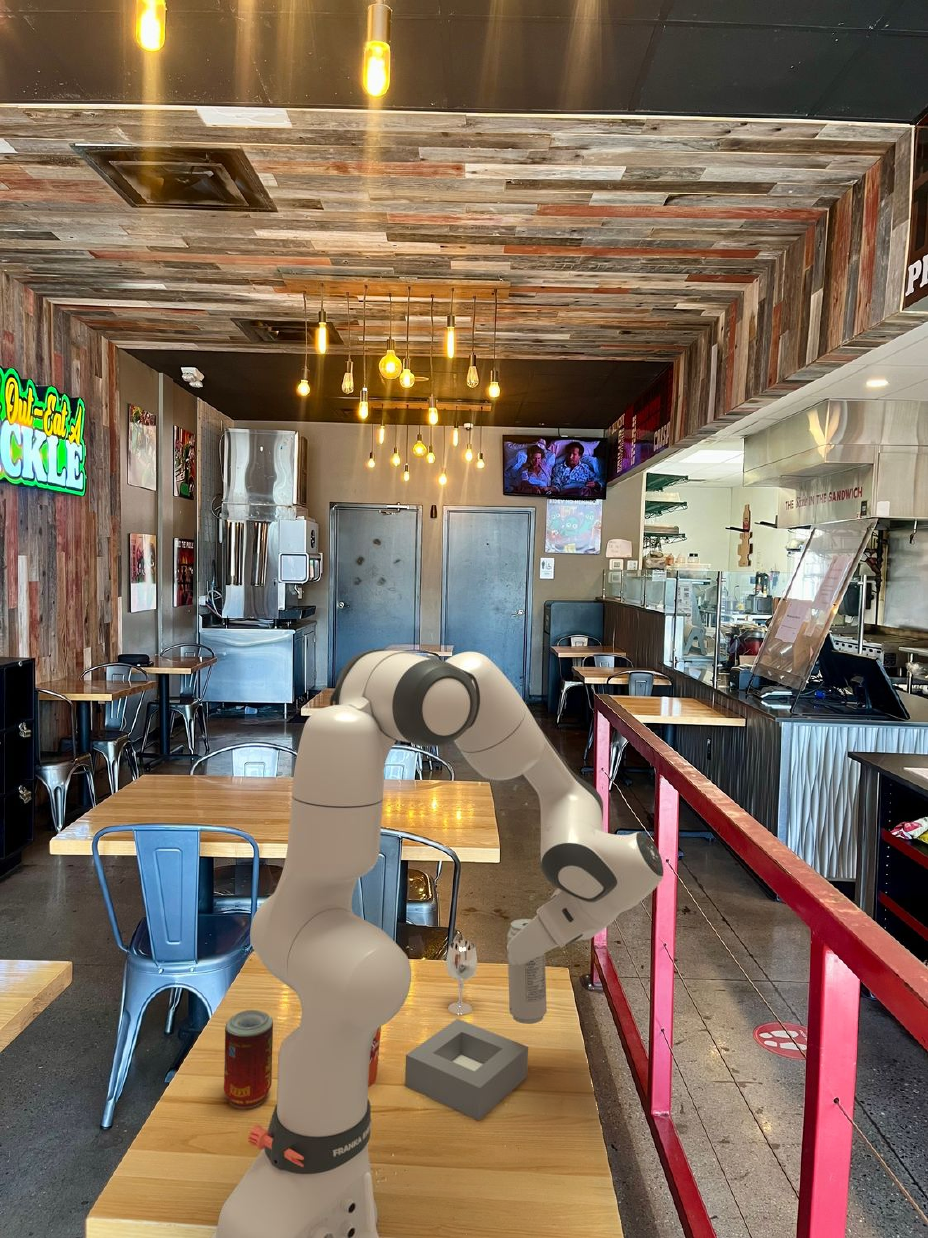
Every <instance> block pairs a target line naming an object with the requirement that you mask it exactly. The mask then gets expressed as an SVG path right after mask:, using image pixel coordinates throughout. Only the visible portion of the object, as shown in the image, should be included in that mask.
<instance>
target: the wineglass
mask: <svg viewBox="0 0 928 1238" xmlns="http://www.w3.org/2000/svg"><path fill="white" fill-rule="evenodd" d="M445 964H446V965H445V966H446V968H445V969H446V972H447V974H448V975H449V976H450V978H452V979H454V980H456V981H458V983H457V987H458V991H459V993H458V1001H457V1002H455V1001H454V1002H452V1003H450V1004H449V1005H448V1007H447V1010H448V1011H449V1012H450V1013H451V1014H453V1015H458V1016H461V1015H462V1016H463V1015H467V1014H470V1013H471V1012H473V1007H472V1005H470V1003H466V1002H463V999H462V998H463V997H462V995H463V989H464V981H467V980H470V979H471V978H473V976H474V975H476V971H477V968H478V957H477V951H476V945H475V943H473V942H471V941H469V940H463V939H462V940H461V939H460V940H459V939H458V940H454V941H451V942H450V944H449V946H448V949H447V954H446V961H445Z"/></svg>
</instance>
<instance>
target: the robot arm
mask: <svg viewBox="0 0 928 1238" xmlns="http://www.w3.org/2000/svg"><path fill="white" fill-rule="evenodd" d="M299 740H300V741H299V745H298V750H297V755H296V759H295V764H294V772H293V779H292V788H291V789H292V790H291V800H290V801H291V803H290V814H289V815H290V816H289V825H288V826H289V829H288V837H287V849H286V854H285V855H286V856H285V861H284V865H283V868H282V873H281V874H280V878H279V880H278V883H277V885H276V888H275V889H274V890H275V891H274V892H273V894H271V895H270V896H269V897H267V898H266V899H265V900H264V901H263V902H262V903H261V904H260V906H259V907H258V908H257V911H256V912H255V914H254V916H253V918H252V921H251V923H250V924H251V925H250V930H249V931H250V932H249V936H250V938H249V939H250V943H251V947H252V949H253V950H254V952H255V954H256V955H257V958H258V959H259V960H260V962H261V963H262V964H263V966H264V967H265V968H266V971H268V973H269V974H271V975H272V976H273V977H275V978H276V979H278V980H279V981H280V982H281V983H283V984H285V986H287V987H288V988H290V989H291V990H292V991H294V992H295V994H296V995H297V996H298V1000H299V1002H300V1005H301V1015H300V1016H301V1017H300V1023H299V1026H297V1027H296V1028H295V1029H294V1030H292V1031H291V1032H290V1033H289V1034H288V1035H287V1036H286V1037H285V1038H284V1040H283V1041H282V1042H281V1045H280V1047H279V1051H278V1053H277V1054H278V1055H277V1057H278V1060H277V1061H278V1062H277V1063H278V1064H277V1089H276V1095H277V1096H276V1104H275V1105H274V1109H273V1113H272V1115H271V1119H270V1122H269V1125H268V1127H267V1128H268V1129H267V1130H265V1129H264V1128H263V1127H262V1126H261V1125H255V1126H253V1127H252V1128H251V1130H250V1132H249V1133H248V1137H247V1140H248V1143H249V1144H250V1145H251V1146H256V1147H257V1149H259V1150H261V1151H260V1152H259V1154H258V1155H257V1156H256V1158H255V1159H254V1161H253V1162H252V1164H251V1165H250V1167H249V1168H248V1170H247V1171H246V1172H245V1173H244V1175H243V1177H242V1178H241V1179H240V1181H239V1182H238V1183H237V1185H236V1187H235V1188H234V1190H232V1192H231V1194H230V1195H229V1197H228V1198H227V1199H226V1200H225V1202H224V1203H223V1205H222V1207H221V1209H220V1213H219V1217H218V1222H217V1227H216V1231H215V1232H214V1233H213V1234H212V1235H211V1236H210V1237H209V1238H380V1236H379V1232H378V1230H377V1223H378V1207H377V1203H376V1201H375V1197H374V1190H373V1177H372V1169H371V1162H370V1156H369V1154H370V1153H369V1146H368V1145H369V1140H370V1138H371V1129H372V1121H373V1120H372V1117H371V1115H372V1114H371V1112H372V1111H371V1110H372V1109H371V1108H372V1107H371V1103H370V1102H371V1101H370V1100H369V1087H368V1080H369V1061H370V1051H371V1046H372V1042H373V1039H374V1036H375V1033H376V1031H377V1029H378V1028H379V1027H381V1028H382V1027H383V1026H384V1025H386V1024H387V1023H389V1022H390V1021H391V1020H392V1019H393V1018H394V1017H395V1016H396V1015H397V1014H398V1013H399V1012H400V1010H401V1009H402V1007H403V1006H404V1004H405V1002H406V1000H407V998H408V995H409V994H410V993H409V992H410V988H411V983H412V966H411V963H410V960H409V958H408V955H407V954H406V953H405V952H404V951H403V949H402V948H401V947H400V946H399V945H398V944H397V942H395V941H394V940H393V938H391V937H390V935H388V934H387V933H386V932H385V930H383V929H381V928H380V927H378V926H376V925H374V924H372V923H370V922H369V921H367V920H365V919H363V918H361V917H360V916H358V915H356V914H355V913H354V911H353V908H352V899H353V894H354V891H355V887H356V885H357V882H358V880H359V878H363V876H365V875H366V874H369V872H370V871H372V869H373V868H374V867H375V866H376V865H377V862H378V860H379V857H380V847H381V846H380V845H381V833H382V830H381V828H382V815H383V802H384V784H385V782H384V779H385V778H384V777H385V776H384V775H385V774H384V772H385V771H384V770H385V766H386V763H387V758H388V756H389V754H390V751H391V749H392V748H393V746H394V745H395V743H396V742H397V741H400V742H405V743H411V744H412V745H415V746H419V747H425V748H426V747H427V748H428V747H429V748H430V747H431V748H432V747H434V748H435V747H441V746H444V745H447V744H450V743H453V742H454V744H455V745H456V747H457V748H458V750H459V751H460V753H461V755H462V756H463V758H465V760H466V761H467V763H468V764H469V765H470V766H471V767H472V768H473V769H474V771H476V772H477V773H478V774H479V775H480V776H482V777H483V778H485V779H488V780H493V781H506V780H512V779H515V778H517V777H520V776H522V775H523V776H524V778H525V779H526V780H527V781H528V782H529V784H530V785H531V786H532V788H534V791H535V792H536V793H537V795H538V800H539V801H538V802H539V803H538V804H539V814H540V864H541V865H540V868H541V872H542V874H543V876H544V877H545V878H546V880H547V881H548V882H549V883H550V884H552V885H553V886H554V887H556V888H557V889H555V891H554V892H553V894H552V895H551V896H550V898H549V899H548V900H547V901H546V902H544V903H543V904H542V905H541V906H539V907H538V908H537V910H536V915H535V916H534V917H532V918H531V919H532V920H531V921H530V922H529V923H527V924H526V925H525V926H524V927H523V928H522V929H521V930H520V931H519V932H518V933H517V934H516V935H515V936H514V937H513V938H512V939H511V940H510V942H509V943H508V942H507V945H506V949H507V960H508V959H509V961H510V963H511V964H512V965H515V964H517V965H519V966H521V965H524V964H526V963H528V962H530V961H531V960H533V959H535V958H537V957H539V956H540V955H542V954H544V953H545V954H546V953H548V952H549V951H551V950H553V949H555V948H557V947H559V948H563V947H565V946H568V945H570V944H572V943H574V942H579V941H582V940H583V941H588V940H590V939H592V938H594V937H595V936H596V935H597V934H599V933H600V932H602V931H604V929H605V928H607V927H608V926H609V925H611V924H612V923H613V922H614V921H615V920H616V919H617V918H618V916H619V915H620V914H622V912H625V911H629V910H631V909H632V908H634V907H635V906H637V905H638V904H639V903H641V901H643V900H644V899H645V898H646V897H648V896H649V895H650V894H651V893H652V892H653V891H654V890H655V889H656V888H657V887H658V886H659V885H660V882H662V880H663V878H664V872H665V871H664V865H663V860H662V857H661V854H660V852H659V851H658V850H659V849H658V848H657V846H656V844H654V841H652V839H650V838H649V837H648V835H646V834H645V833H643V832H641V831H637V832H633V833H631V834H621V835H620V834H613V833H608V832H605V831H604V801H603V799H602V797H601V795H600V793H599V792H598V790H597V789H596V788H595V787H593V785H591V783H588V782H587V781H585V780H584V779H583V778H581V777H580V776H578V775H577V774H576V773H575V772H573V771H572V769H571V768H570V767H569V766H568V765H569V764H567V763H566V762H565V760H564V759H563V758H562V756H561V755H560V753H559V752H558V750H557V749H556V748H555V746H554V745H553V743H552V742H551V741H550V739H549V738H548V736H547V735H546V734H545V732H543V730H542V729H541V727H540V726H539V725H538V723H537V722H536V720H535V718H534V716H533V715H532V713H531V711H530V708H528V706H527V704H526V703H525V701H524V700H523V698H522V697H521V695H520V694H519V692H518V690H517V689H516V688H515V687H514V685H513V683H512V682H511V681H510V680H509V679H508V678H507V676H506V675H505V674H504V673H503V672H502V671H501V670H500V668H499V667H498V666H497V665H496V664H495V663H494V662H493V661H492V660H491V659H490V658H488V657H487V656H486V655H485V654H482V653H481V652H477V651H464V652H460V653H457V654H454V655H452V656H450V657H448V658H447V659H446V660H442V659H436V658H435V659H433V658H429V657H426V656H422V655H421V654H420V655H419V654H418V653H415V652H412V651H404V650H388V649H384V648H375V649H369V650H365V651H362V652H360V653H357V654H355V655H354V656H352V657H351V659H349V660H348V661H347V662H346V664H345V665H344V666H343V668H342V669H341V671H340V673H339V675H338V678H337V681H336V684H335V688H334V690H333V691H332V693H331V695H330V698H329V706H326V707H323V708H320V709H318V710H316V711H314V713H312V714H311V715H310V716H309V717H308V718H307V720H306V722H305V724H304V726H303V730H302V733H301V736H300V739H299ZM508 952H509V953H510V954H508Z"/></svg>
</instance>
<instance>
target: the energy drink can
mask: <svg viewBox="0 0 928 1238" xmlns="http://www.w3.org/2000/svg"><path fill="white" fill-rule="evenodd" d="M532 919H533V918H521V919H515V920H513V921H511V922H510V928H509V930H508V932H507V935H506V936H507V944H508V943H509V942H510V940H511V939H512V938H513V937H514V936H515V935H516V934H517V933H518V932H519V931H520V930H521V929H522V928H523V927H524V926H525V925H526V924H527V923H529V922H530V921H531V920H532ZM508 954H510V953H509V952H508V951H507V955H508ZM507 966H508V967H507V969H508V970H507V971H508V975H507V976H508V1003H509V1004H508V1006H509V1009H508V1011H509V1013H510V1015H511V1016H512V1018H513V1020H514V1021H515V1022H518V1023H520V1024H526V1025H533V1024H537V1023H539V1022H541V1021H542V1020H544V1016H545V1015H547V1012H548V1011H547V1010H548V1008H547V981H546V978H547V977H546V976H547V975H546V953H544V954H542V955H540V956H539V957H537V958H535V959H533V960H531V961H530V962H528V963H526V964H524V965H521V966H519V965H517V964H515V965H512V964H511V963H510V961H509V959H508V958H507Z"/></svg>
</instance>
